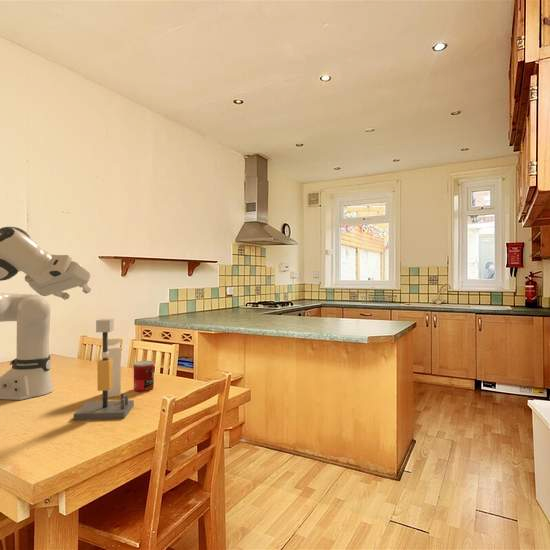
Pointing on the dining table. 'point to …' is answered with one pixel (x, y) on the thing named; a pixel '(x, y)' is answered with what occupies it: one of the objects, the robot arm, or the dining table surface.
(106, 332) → the stand
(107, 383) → the sleeve
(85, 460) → the dining table surface
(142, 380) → the canned food
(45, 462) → the dining table surface
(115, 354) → the milk
